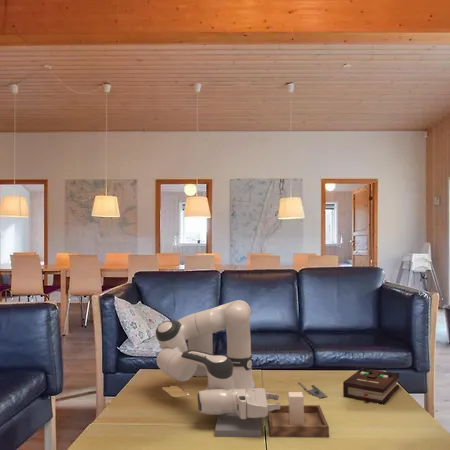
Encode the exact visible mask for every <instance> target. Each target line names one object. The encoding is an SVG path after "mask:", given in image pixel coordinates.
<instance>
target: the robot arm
mask: <svg viewBox="0 0 450 450" xmlns="http://www.w3.org/2000/svg"><path fill="white" fill-rule="evenodd" d="M251 312H252V311H251V307H250V305H249V304H248V302H246V301H244V300H241V299H237V300H233V301H230V302H228V303H224V304H221V305H220V304H219V305H218V306H216V307H212V308H208V309H205V310H202V311H199V312H194V313H190V314H188V315H186V316H183V317H181V318H180V319H178V320H166V321H162V322H161V323H160V324H159V325H157V327H156V329H155V337H156V339H157V341H158V344H159V346H160V349H161V350H160V351H159V353H158V354H157V356H156V365H157V366H158V368H159V369H160V370H161V371H162V373H164V374H166V376H169V377H170V378H172V379H174V380H175V381H178V382H185V381H188V380H190V379H192V377H194V376H193V375H194V373H195V371H196V369H197V365H200V366H204V367H205V368H206V370H207V375H208V376H207V386H206V388H205V389H203V390H198V392H197V395H196V396H197V408H198V410H199V413H201V414H206V415H212V416H213V415H214V416H215V415H217V416H218V415H222V414H232V415H233V414H234V415H238V416H239V417H240V419H246V418H247V417H249V418H259V417H260V418H265V417H268V411H273V410H275V409H280V405H281V403H280V402H275V403H268V400H273V401H278V400H279V394H278V393H271V392H266V388H263V387H256V385H255V381H254V377H253V369H252V368H253V367H252V366H253V356H252V346H251V345H252V343H251V342H252V341H251V339H252V338H251V324H250V323H251V322H250V321H251V314H252V313H251ZM222 330H225V332H226V333H225V335H226V355H224V354H209V353H205V352H201V351H196V350H189V348H188V343H187V342H186V341H188V339H189V338H195V337H200V336H204V335H207V334H211V333H212V334H215V333H218V332H220V331H222Z"/></svg>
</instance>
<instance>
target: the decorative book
mask: <svg viewBox="0 0 450 450" xmlns="http://www.w3.org/2000/svg"><path fill="white" fill-rule="evenodd" d="M356 369H358V370H357V371H356V372H355V373H354V374H352V375H351V376H350V377H348V378H347V379H345V380H344V381H343V383H342V384H343V385H342V389H343V390H342V391H343V392H342V393H343V398H346V399H351V400H357V401H363V402H365V403H366V402H368V403H373V404H377V403H378V405H382V404H383V405H385V404H386V403H387V402H388V401H389V400H390V399H391V397H393V395H394V394H395V393H396V392H397V391H398V390H399V389H400V384H398V382H399V378H400V374H401V373H399V372H391V371H386V370H378V369H371V368H366V367H365V368H364V367H356ZM388 399H389V400H388Z"/></svg>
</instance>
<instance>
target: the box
mask: <svg viewBox="0 0 450 450" xmlns="http://www.w3.org/2000/svg"><path fill="white" fill-rule="evenodd" d="M267 419H268V420H267V422H268V427H269V428H268V429H269V437H271V438H273V437H275V438H276V437H281V438H282V437H283V438H284V437H285V438H286V437H287V438H291V437H292V438H293V437H295V438H301V437H302V438H330V426H329V424H328V421H327V420H326V418H325V414H324V412H323V411H322V408H321V406H320V404H318V405H317V404H316V405H315V404H312V405H311V404H309V405H308V404H306V405H304V425H290V423H289V406H288V404H280V409H275V410H273V411H268V416H267Z"/></svg>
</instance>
